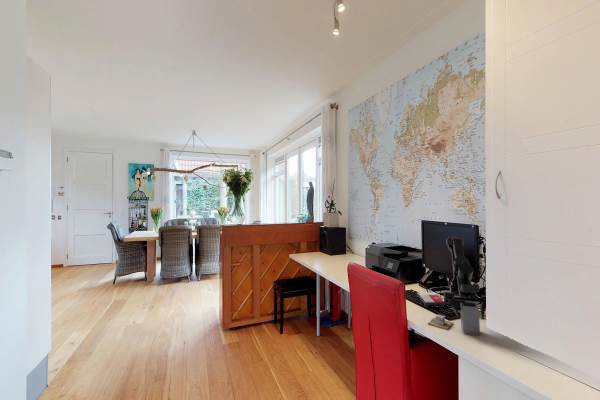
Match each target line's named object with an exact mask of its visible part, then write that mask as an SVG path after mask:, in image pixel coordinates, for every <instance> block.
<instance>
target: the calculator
mask: <svg viewBox="0 0 600 400" xmlns="http://www.w3.org/2000/svg"><path fill="white" fill-rule="evenodd" d="M417 296H418V297H419V298H420V300H421V301H422V302H423V303H424V305H446V306H447V303H445V302H444V299H442V297H440V295H438V294H437V293H436V292H427V291H426V292H421V291H420V292H419V291H418V292H416V297H417Z"/></svg>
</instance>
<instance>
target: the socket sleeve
mask: <svg viewBox="0 0 600 400" xmlns="http://www.w3.org/2000/svg"><path fill="white" fill-rule="evenodd" d="M460 306H461V309H460V325H461V328H460V329H461V331H462V333H463V334H464V335H471V336H476V337H480V336H481V331H480V330H481V329H480V327H481V325H480V308H479V306H478V304H477V302H467V301H465V302H462V301H460Z"/></svg>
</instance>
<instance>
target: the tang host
mask: <svg viewBox="0 0 600 400" xmlns="http://www.w3.org/2000/svg"><path fill="white" fill-rule="evenodd" d="M445 317H446V315H441V314H437V315H435V317H433V318H432V319H430V320H429V322H427V325H429V326H432V327H436V328H439V329H442V330H446V331H448V330H449V329H450V328H451V327H452V326H453V325H454V322H452V321H450V320H447V319H446V318H445Z"/></svg>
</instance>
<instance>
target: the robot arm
mask: <svg viewBox="0 0 600 400" xmlns="http://www.w3.org/2000/svg"><path fill="white" fill-rule="evenodd" d="M445 242H446V243H445V244H446V246H447V249H448V250H449V251H450V254H451V262H452V274H453V278H452V280H451V282H450V284H449V291H445V292H444V293H443V301H444V302H445V303H446V305H450V307H451V308H452V310H453V311H454V313H455V315H456V317H458V318H460V315H459V310H458V309H460V310H461V306H460V301H462V302H472V303H476V304H477V303H479V304H480V308H479V310H480V316H481V320H482V321H484V319H485V312H486V310H487V309H486V296H487V295H481V296H480V297H475V296H476V293H479V292H480V291H481V290H480V285H479V283H473V284H472V279H473V273H474V272H475V269H474V267H473V266H472V265H471V264H470V262H469V260H468V258H466V256H465V253H464V249H463V246H465V240H464V238H461V237H460V236H459V237H458V236H448V237H447V238H446V239H445Z"/></svg>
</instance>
